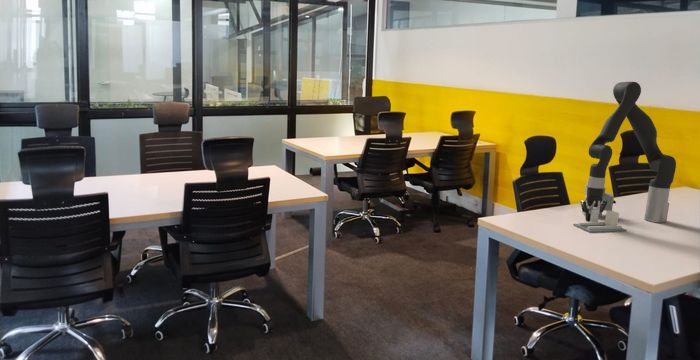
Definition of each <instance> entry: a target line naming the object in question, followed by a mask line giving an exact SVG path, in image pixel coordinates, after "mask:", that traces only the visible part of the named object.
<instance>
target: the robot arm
mask: <svg viewBox="0 0 700 360" xmlns="http://www.w3.org/2000/svg"><path fill="white" fill-rule="evenodd" d="M612 93H613V97H614V100H616V102H617V104H618V106H617V107H616V109H615V110H614V112H613V113H612V114H610V116H609V117H608V118H607V119H606V120H605V122H604V124H603V126H602V129H601V131H600V133H599V134H598V135H597V136H596V138H595V139H594V140H593V141H592V143H591V144H590V146H589V147H588V156H589V157H591V158H593V159H596V160H598V163H592V164H591V165H590V167H589V175H588V176H589V177H588V178H587V179H588V180H587V184H588V186H587V198H586V197H585V199H586V200H585V199H584V200H583V199H581V200H580V207H581V212H582V211H583V212H585V213H586V216H585V219H584V220H585V221H588V222H590V217H591V210H592V209H593V207H594V208H596V209H599V213H601V212H602V213H603V212H604V211H605V210H604V209H605V206H606V204H607V201H605V200H603V198H602V197H603V195H604V187H605V185H606V175H607V169H608V166H609V164H610V161H611V159H612V157H613V149H612V147H611V146H610V145H608V143H612V142H614V141H615V139H616V138H617V135H618V133H619V131H620V129H621V127H622V125H623V124H624V121H625V120H626V119H627V120H628V122H629V125H630V126H631V128H632V131H633V132H634V135H635V137H636V138H637V140H638V142H639V144H640V146H641V148H642V150H643V152H644V154H645V157H646V161H647V163H648V166H649V168H650V169H651V171H653V172H655V173H657V174H656V176H655V178H653V179H650V180H649V185H648V191H647V192H648V193H647V198H646V199H647V200H646V205H645V206H646V207H645V213H644V220H645V221H648V222H651V223H657V224H658V223H660V224H662V223H665V222H667V221H668V214H669V207H670V202H669V197H670V191H671V186H672V183H673V182H674V179H675V173H676V170H677V169H676V168H677V160H676V159H675V158H674V156H671V155H668V154H664V153H663V152H662V150H661V149H660V147H659V144H658V143H657V138H658V132H657V128H656V126H655V123H654V122H653V120H652V118H651V117H650V116H649V115H648V114H647V113H646V112H645V111H644V110H642V109H641V108H640V107H639V106H638V105H637V103H636V102H637V101H638V100H639V98H640V95H641V93H642V86H641V85H640V83H638V82H636V81H623V82H618V83H615V85H614V87H613V89H612ZM606 144H607V145H606ZM605 188H606V187H605ZM600 203H601V204H600ZM586 204H587V205H586ZM589 206H590V207H589ZM601 208H602V209H601ZM598 219H600V217H599V215H598Z"/></svg>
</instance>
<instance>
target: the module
mask: <svg viewBox="0 0 700 360" xmlns="http://www.w3.org/2000/svg"><path fill="white" fill-rule="evenodd" d="M598 215H599V209H596V208H594V207H593V209H592V210H591V217H590V222H599V218H598ZM584 222H588V221H586V220H585V221H584Z"/></svg>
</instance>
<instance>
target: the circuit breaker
mask: <svg viewBox="0 0 700 360" xmlns="http://www.w3.org/2000/svg"><path fill="white" fill-rule="evenodd" d="M587 186H588V183H585V187H584V194H585V199H584V200H586V198H587ZM614 197H615V196H614V195H613V194H612V193H610V192H606V187H604V195H603V197H602V198H603V200H605V201H607V204H606V206H605V209H604V211H605V212H606V211H613V206H614V205H615V204H616V203H617V201H616V200H615V198H614ZM600 204H601V203H600ZM586 205H587V204H586ZM589 207H590V206H589ZM601 209H602V208H601ZM581 213H582V215H583V216H584V217H586V213H585V212H583V211H582V210H581ZM602 216H603V212H601V213H599V218H603V217H602Z"/></svg>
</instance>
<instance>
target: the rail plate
mask: <svg viewBox="0 0 700 360" xmlns="http://www.w3.org/2000/svg"><path fill="white" fill-rule="evenodd" d="M605 212H606V213H605V218H604V219H605V220H604V221H598V222H585V221H584V222H578V223H573V226H574V227H576V228H578V229H580V230H583V231H585V232H587V233H590V234H591V233H593V234H594V233H617V232H618V233H621V232H627V231H628V230H627V229H626V228H623V225H618V224H619V216H620V213H619V212H618V211H615V210H612V211H605Z"/></svg>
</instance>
